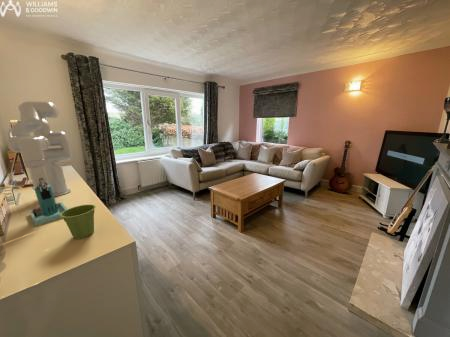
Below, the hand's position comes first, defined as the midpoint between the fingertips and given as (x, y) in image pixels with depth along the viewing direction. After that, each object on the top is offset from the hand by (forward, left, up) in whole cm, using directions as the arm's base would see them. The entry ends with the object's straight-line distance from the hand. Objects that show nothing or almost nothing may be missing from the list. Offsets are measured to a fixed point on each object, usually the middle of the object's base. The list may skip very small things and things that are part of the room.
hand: (45, 196), depth 96 cm
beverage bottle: (0, 0, -11) cm, 11 cm away
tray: (-1, 0, -11) cm, 11 cm away
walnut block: (-7, -3, -11) cm, 14 cm away
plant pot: (+34, +6, -12) cm, 37 cm away
